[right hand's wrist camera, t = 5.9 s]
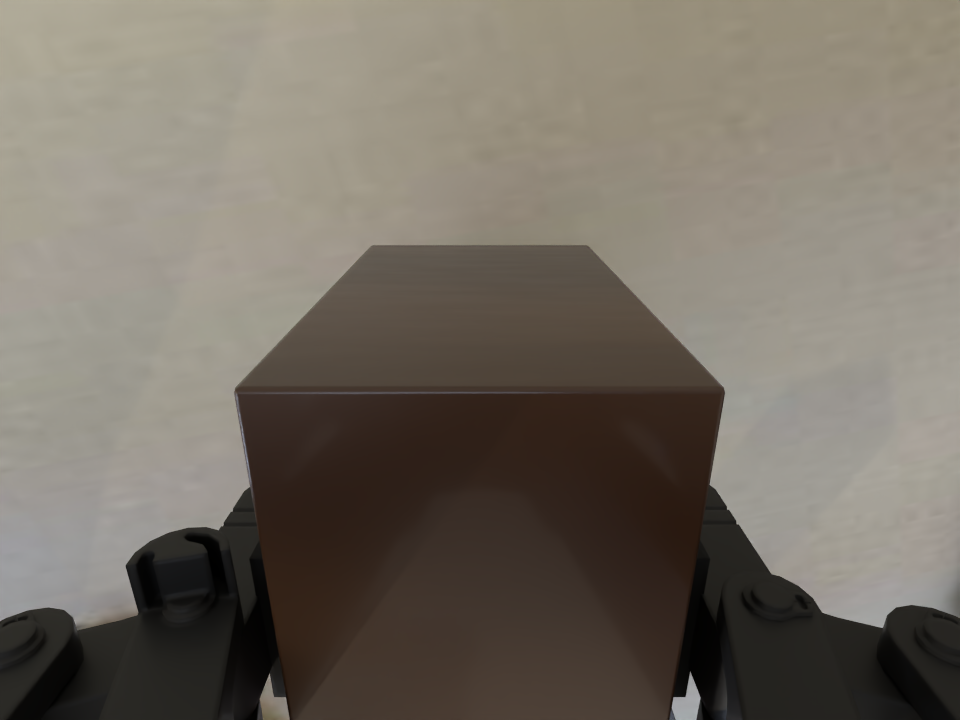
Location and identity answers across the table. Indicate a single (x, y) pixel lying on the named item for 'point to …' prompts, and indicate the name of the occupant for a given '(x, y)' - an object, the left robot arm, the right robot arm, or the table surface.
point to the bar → (479, 489)
